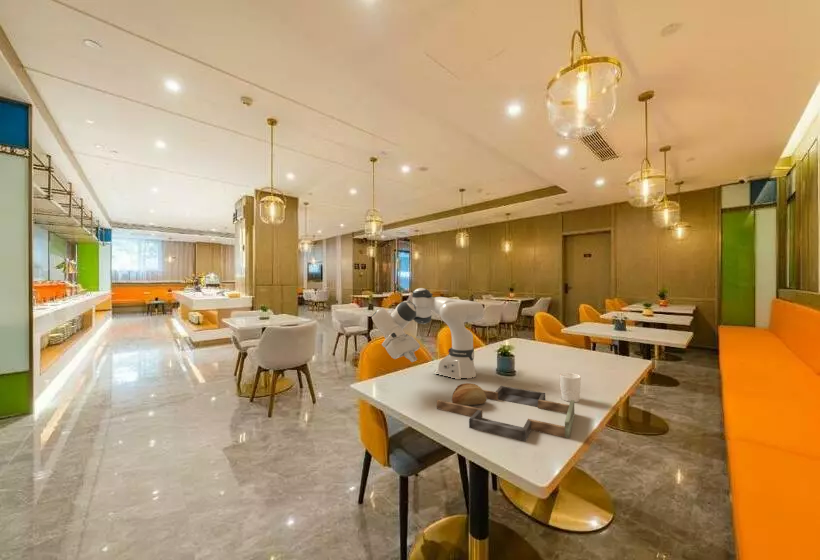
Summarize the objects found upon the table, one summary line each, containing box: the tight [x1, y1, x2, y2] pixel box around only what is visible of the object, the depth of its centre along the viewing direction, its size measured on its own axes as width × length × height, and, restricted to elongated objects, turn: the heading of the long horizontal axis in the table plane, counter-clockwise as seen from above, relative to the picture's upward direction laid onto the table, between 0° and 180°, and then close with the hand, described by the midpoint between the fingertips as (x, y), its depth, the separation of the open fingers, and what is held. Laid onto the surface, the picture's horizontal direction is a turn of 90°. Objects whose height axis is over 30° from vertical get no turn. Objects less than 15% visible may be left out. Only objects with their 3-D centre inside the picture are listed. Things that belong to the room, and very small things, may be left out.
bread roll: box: [451, 382, 487, 406], centre depth 129 cm, size 10×15×8 cm, turn 110°
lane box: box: [436, 384, 575, 442], centre depth 122 cm, size 47×39×5 cm
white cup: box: [559, 372, 582, 403], centre depth 133 cm, size 8×8×10 cm
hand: (414, 360), depth 142 cm, fingers closed
